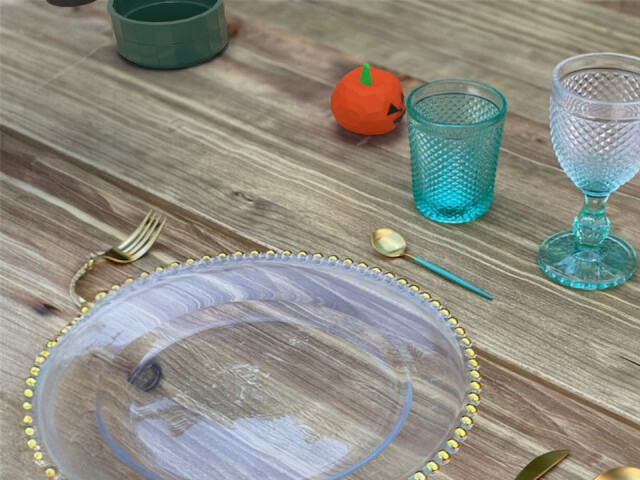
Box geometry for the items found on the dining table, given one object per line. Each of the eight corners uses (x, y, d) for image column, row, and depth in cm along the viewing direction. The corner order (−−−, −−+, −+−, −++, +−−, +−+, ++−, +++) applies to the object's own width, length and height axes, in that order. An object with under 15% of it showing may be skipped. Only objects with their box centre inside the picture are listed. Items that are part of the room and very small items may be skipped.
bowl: (111, 73, 98) (100, 27, 95) (123, 24, 107) (113, -20, 103) (227, 68, 99) (221, 21, 96) (230, 19, 108) (224, -25, 104)
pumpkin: (400, 104, 94) (400, 41, 89) (410, 145, 88) (411, 80, 83) (329, 108, 93) (325, 45, 88) (334, 150, 87) (330, 85, 83)
